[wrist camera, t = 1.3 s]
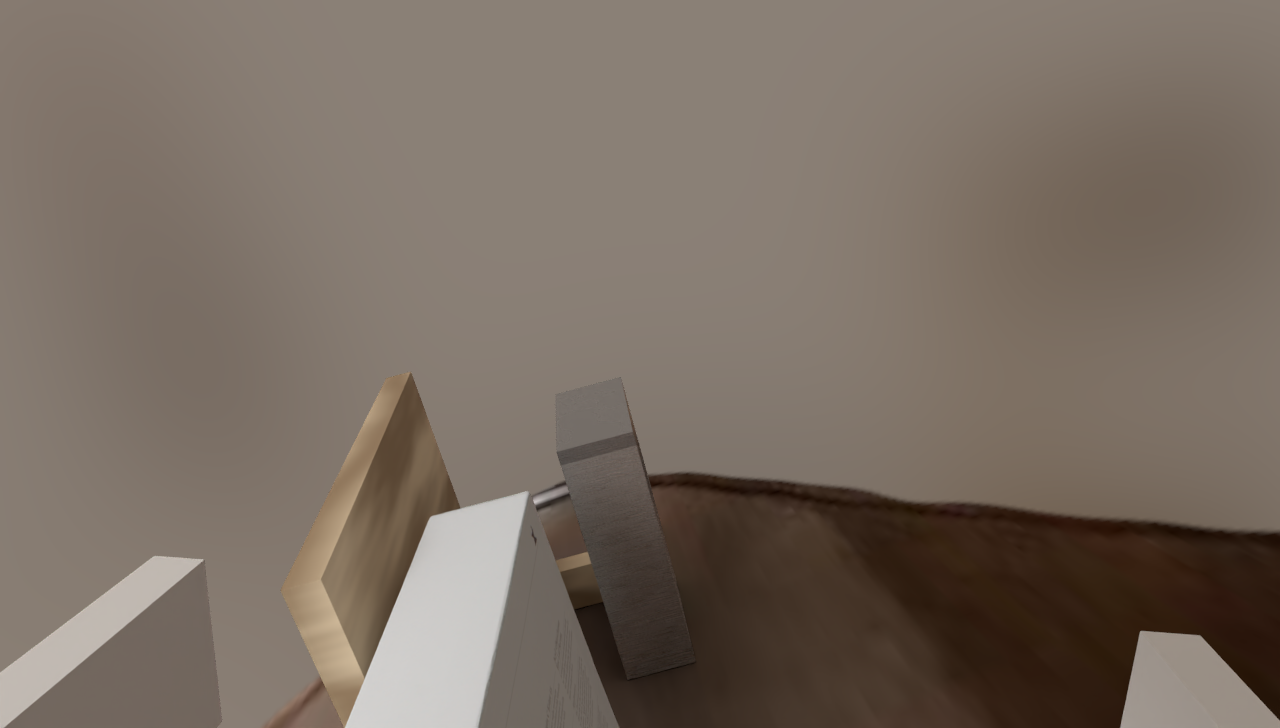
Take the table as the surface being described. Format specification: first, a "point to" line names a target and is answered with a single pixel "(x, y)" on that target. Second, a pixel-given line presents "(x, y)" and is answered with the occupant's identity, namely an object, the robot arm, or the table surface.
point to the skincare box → (483, 633)
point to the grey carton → (621, 527)
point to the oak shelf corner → (379, 541)
